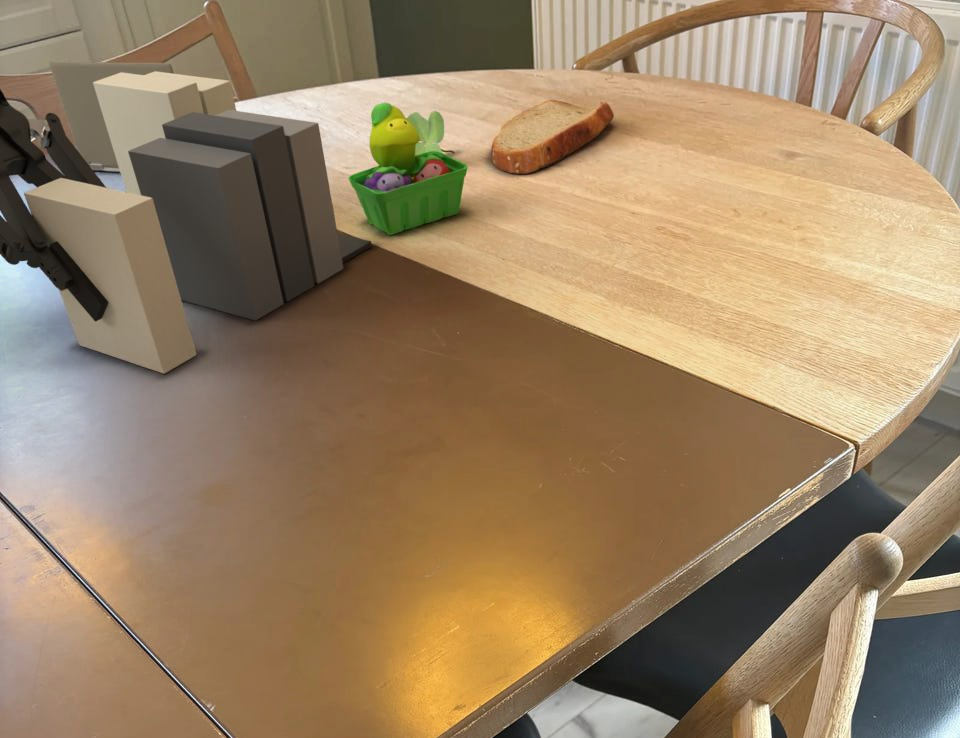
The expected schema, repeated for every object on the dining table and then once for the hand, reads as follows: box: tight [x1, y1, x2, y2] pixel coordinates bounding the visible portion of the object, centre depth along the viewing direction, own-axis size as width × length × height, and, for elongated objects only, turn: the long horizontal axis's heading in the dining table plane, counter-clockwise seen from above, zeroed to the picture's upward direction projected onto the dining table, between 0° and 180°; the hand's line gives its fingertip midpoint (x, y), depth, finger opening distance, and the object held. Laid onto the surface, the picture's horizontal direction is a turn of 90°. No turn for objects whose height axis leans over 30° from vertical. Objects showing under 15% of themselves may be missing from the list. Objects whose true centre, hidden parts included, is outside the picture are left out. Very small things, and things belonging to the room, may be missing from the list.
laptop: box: [48, 61, 175, 173], centre depth 131 cm, size 18×12×13 cm
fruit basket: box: [348, 102, 469, 236], centre depth 109 cm, size 11×9×11 cm
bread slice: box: [490, 99, 615, 175], centre depth 126 cm, size 18×18×4 cm
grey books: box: [128, 110, 373, 322], centre depth 100 cm, size 19×12×15 cm, turn 145°
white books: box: [93, 71, 237, 195], centre depth 115 cm, size 14×12×15 cm
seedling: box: [406, 110, 455, 155], centre depth 126 cm, size 7×8×6 cm
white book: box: [23, 178, 198, 374], centre depth 89 cm, size 4×12×14 cm, turn 55°
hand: (122, 301), depth 91 cm, fingers closed on white book, 4 cm apart
